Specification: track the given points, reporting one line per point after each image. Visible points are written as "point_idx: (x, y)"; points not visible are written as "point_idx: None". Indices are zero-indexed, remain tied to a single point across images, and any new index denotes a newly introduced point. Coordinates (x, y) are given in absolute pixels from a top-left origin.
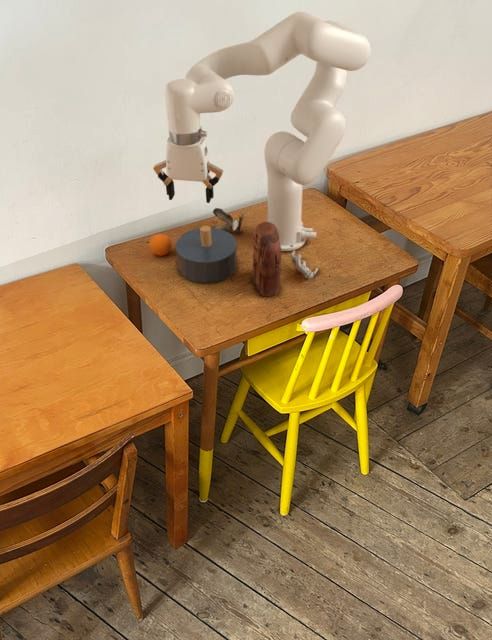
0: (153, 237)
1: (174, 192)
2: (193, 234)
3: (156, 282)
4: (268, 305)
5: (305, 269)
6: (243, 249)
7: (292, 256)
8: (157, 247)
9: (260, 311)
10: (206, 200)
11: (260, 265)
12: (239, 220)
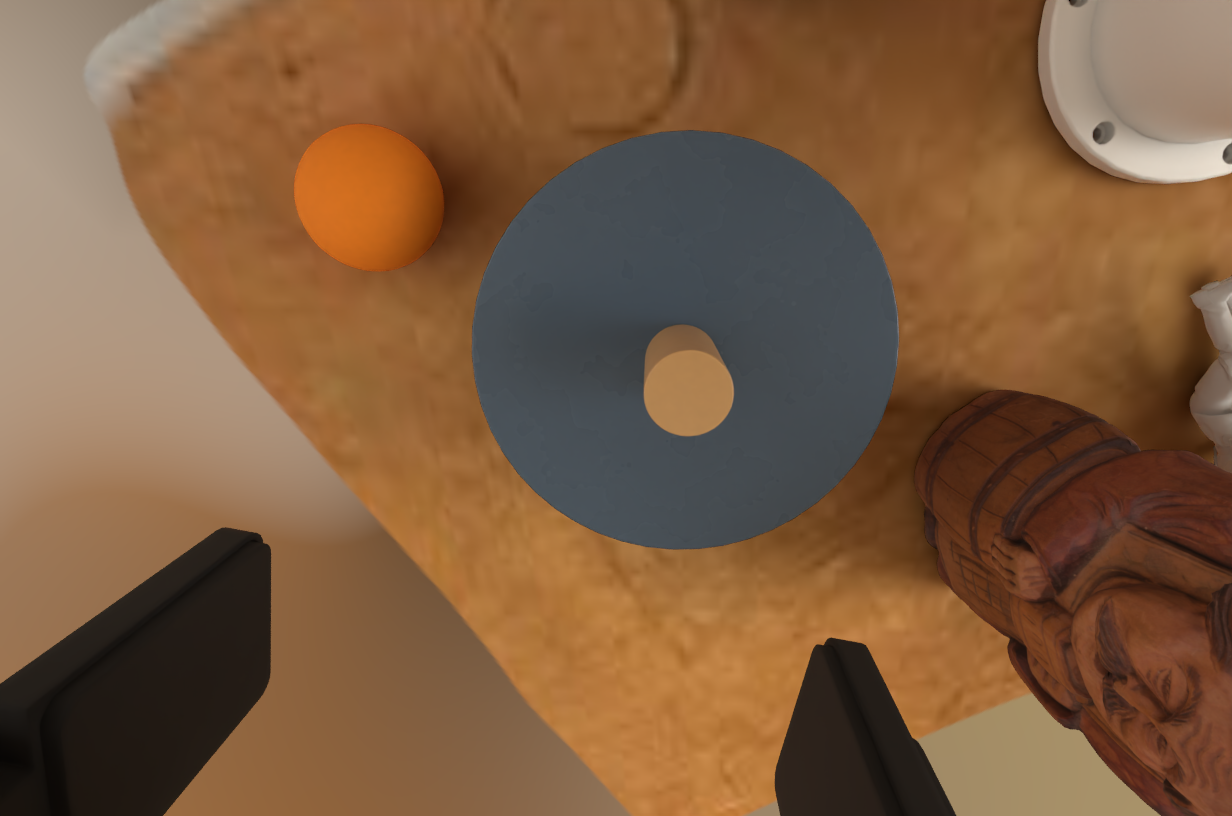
0: (304, 202)
1: (250, 564)
2: (581, 227)
3: (423, 464)
4: (962, 641)
5: None
6: (894, 152)
7: (1214, 323)
8: (359, 267)
9: (918, 676)
10: (782, 814)
11: (1035, 676)
12: None
